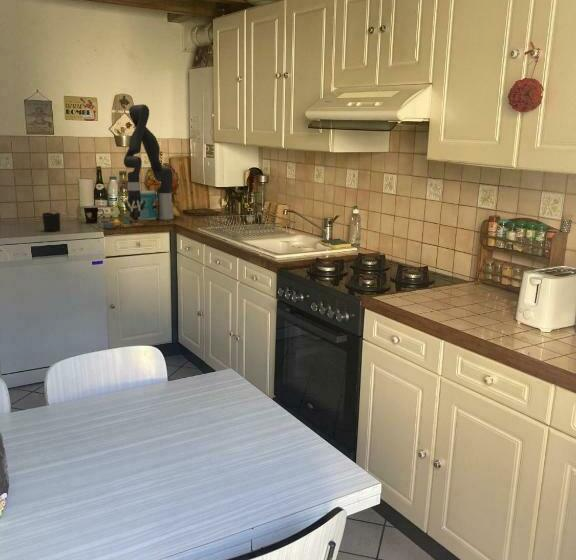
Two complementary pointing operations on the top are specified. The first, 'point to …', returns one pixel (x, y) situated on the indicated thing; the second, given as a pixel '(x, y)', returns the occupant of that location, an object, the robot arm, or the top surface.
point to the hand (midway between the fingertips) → (135, 217)
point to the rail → (129, 224)
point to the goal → (105, 224)
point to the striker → (135, 216)
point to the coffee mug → (92, 214)
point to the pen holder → (51, 222)
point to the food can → (148, 206)
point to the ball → (116, 222)
